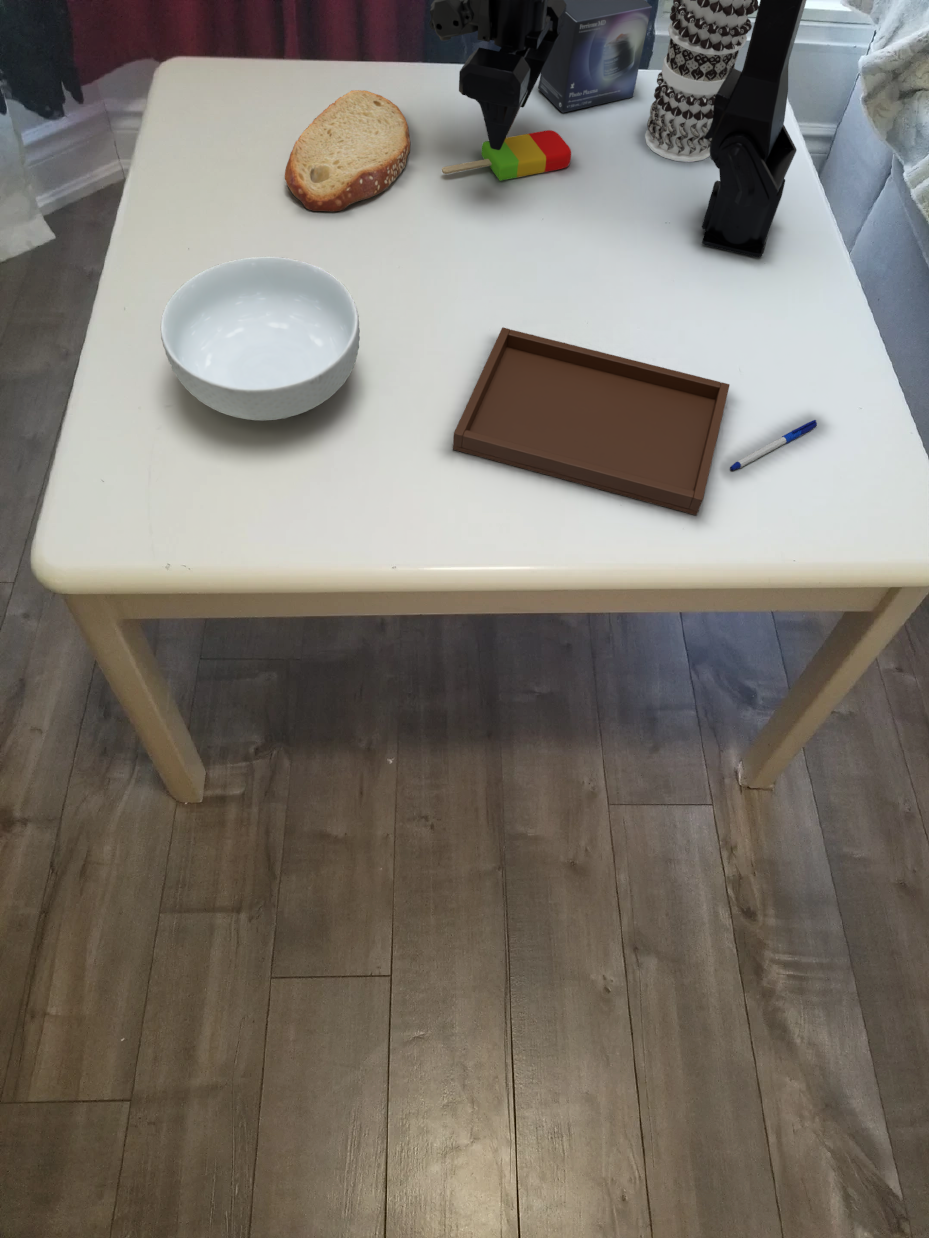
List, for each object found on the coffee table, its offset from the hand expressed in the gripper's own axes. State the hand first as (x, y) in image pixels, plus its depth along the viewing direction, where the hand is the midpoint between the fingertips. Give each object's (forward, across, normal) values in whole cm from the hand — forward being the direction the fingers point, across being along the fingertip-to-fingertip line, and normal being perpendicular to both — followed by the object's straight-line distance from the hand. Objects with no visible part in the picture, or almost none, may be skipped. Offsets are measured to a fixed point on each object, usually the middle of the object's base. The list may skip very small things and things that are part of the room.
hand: (507, 127), depth 100 cm
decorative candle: (+5, -13, +18) cm, 23 cm away
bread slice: (+5, +5, -17) cm, 18 cm away
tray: (+5, +36, +19) cm, 41 cm away
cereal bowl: (+5, +41, -10) cm, 42 cm away
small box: (+5, -19, +5) cm, 20 cm away
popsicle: (+5, 0, 0) cm, 5 cm away
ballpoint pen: (+5, +33, +35) cm, 48 cm away
